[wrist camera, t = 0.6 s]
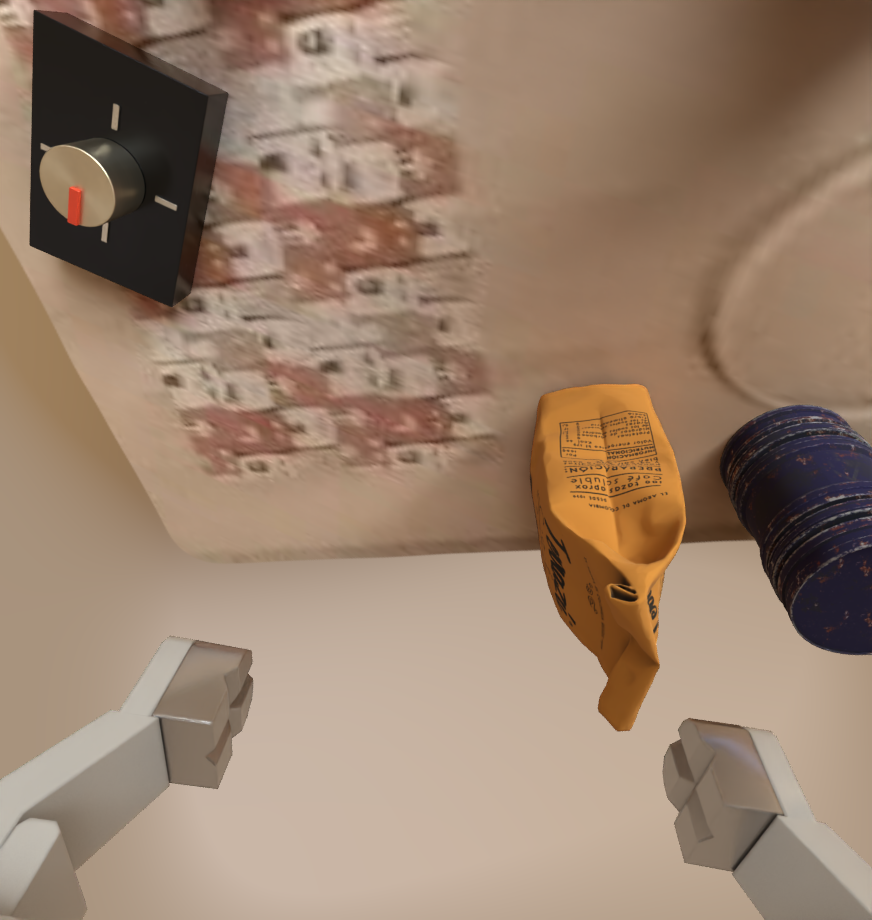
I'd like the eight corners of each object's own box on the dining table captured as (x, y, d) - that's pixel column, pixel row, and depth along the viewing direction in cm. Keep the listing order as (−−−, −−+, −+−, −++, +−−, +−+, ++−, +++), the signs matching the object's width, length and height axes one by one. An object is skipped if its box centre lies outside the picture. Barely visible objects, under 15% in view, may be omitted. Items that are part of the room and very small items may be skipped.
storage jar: (728, 519, 51) (796, 667, 38) (707, 426, 46) (778, 563, 34) (860, 488, 47) (980, 639, 35) (852, 386, 43) (987, 519, 30)
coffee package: (525, 504, 52) (531, 742, 34) (529, 377, 45) (539, 592, 27) (642, 506, 51) (712, 755, 33) (665, 375, 44) (770, 600, 26)
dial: (77, 124, 36) (36, 131, 32) (149, 158, 36) (115, 167, 33) (73, 195, 38) (34, 208, 35) (140, 226, 39) (108, 241, 36)
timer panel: (66, 12, 35) (31, 9, 32) (229, 92, 36) (207, 95, 34) (56, 234, 43) (27, 246, 40) (190, 293, 44) (170, 308, 42)
